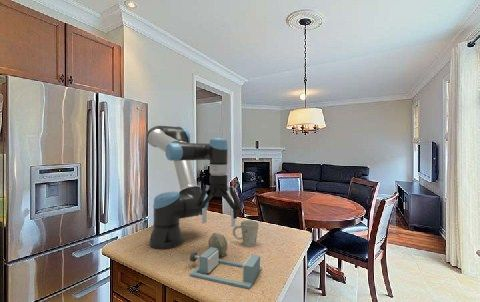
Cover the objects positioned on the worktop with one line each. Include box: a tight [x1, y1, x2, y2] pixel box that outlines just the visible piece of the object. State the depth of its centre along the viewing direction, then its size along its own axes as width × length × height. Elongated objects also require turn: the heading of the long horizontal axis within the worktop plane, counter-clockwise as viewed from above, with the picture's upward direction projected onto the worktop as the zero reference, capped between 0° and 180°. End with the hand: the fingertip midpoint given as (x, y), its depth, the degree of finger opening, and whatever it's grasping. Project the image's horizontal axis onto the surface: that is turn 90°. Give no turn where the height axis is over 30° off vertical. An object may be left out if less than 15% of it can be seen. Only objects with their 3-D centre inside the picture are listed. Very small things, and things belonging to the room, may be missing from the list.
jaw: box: [189, 247, 220, 275], centre depth 92 cm, size 9×9×6 cm
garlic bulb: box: [207, 232, 228, 257], centre depth 104 cm, size 9×8×10 cm
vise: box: [189, 254, 263, 290], centre depth 89 cm, size 22×14×6 cm, turn 69°
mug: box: [232, 220, 260, 247], centre depth 116 cm, size 8×13×10 cm, turn 78°
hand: (218, 224), depth 104 cm, fingers open, 13 cm apart
